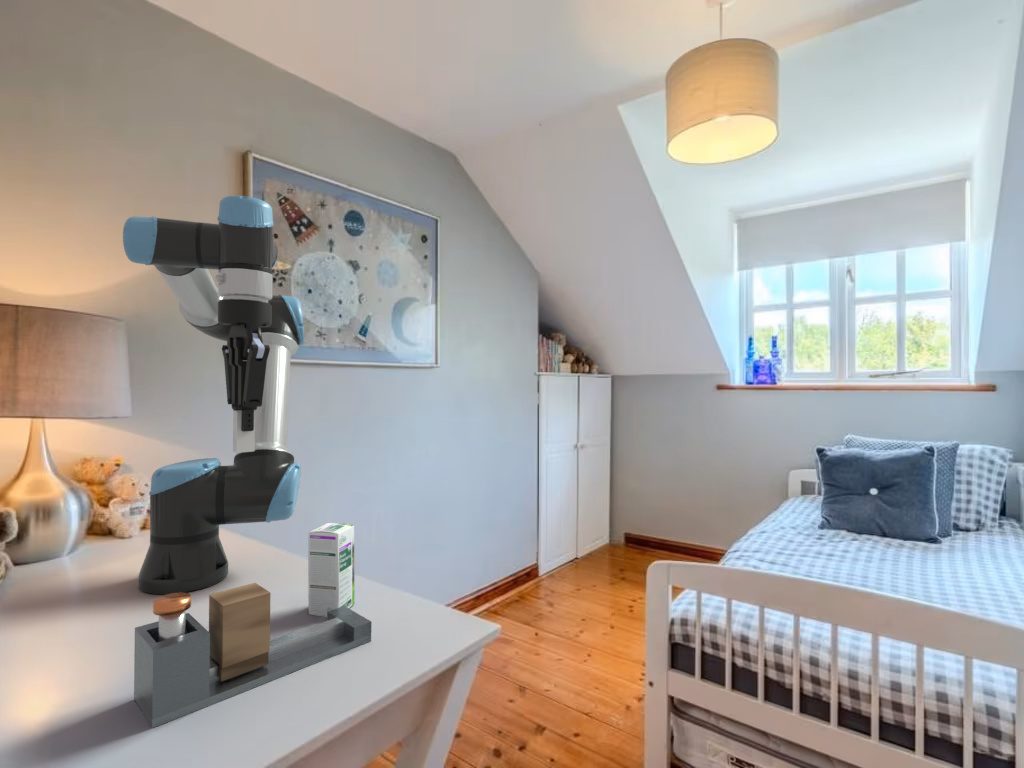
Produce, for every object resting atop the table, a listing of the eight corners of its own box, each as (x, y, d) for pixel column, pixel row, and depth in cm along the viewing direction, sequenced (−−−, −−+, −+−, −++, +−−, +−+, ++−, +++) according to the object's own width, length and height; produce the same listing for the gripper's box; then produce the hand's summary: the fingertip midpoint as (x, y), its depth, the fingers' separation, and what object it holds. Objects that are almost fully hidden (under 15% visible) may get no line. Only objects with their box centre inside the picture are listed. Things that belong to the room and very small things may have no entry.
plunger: (148, 680, 67) (148, 598, 67) (184, 668, 70) (185, 589, 70) (157, 694, 64) (158, 608, 64) (194, 680, 67) (195, 598, 67)
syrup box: (338, 618, 91) (339, 532, 91) (306, 615, 92) (307, 530, 92) (354, 604, 96) (356, 523, 96) (324, 601, 98) (325, 521, 97)
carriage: (208, 668, 72) (209, 594, 72) (254, 651, 77) (255, 582, 77) (222, 682, 69) (223, 605, 69) (269, 665, 73) (270, 592, 73)
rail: (134, 699, 68) (134, 627, 67) (343, 624, 89) (344, 569, 89) (152, 728, 62) (153, 650, 62) (371, 640, 83) (372, 582, 83)
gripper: (204, 300, 86) (203, 448, 86) (235, 294, 77) (234, 459, 77) (253, 305, 91) (252, 444, 92) (287, 300, 82) (285, 454, 83)
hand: (243, 451), depth 85 cm, fingers closed
